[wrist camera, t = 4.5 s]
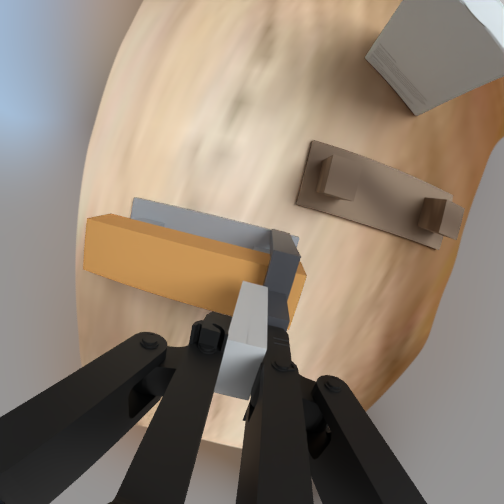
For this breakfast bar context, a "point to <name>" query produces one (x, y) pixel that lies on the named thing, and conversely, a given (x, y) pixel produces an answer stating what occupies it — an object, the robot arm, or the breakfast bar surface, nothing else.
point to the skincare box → (440, 49)
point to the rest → (377, 196)
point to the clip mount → (203, 225)
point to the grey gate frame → (280, 277)
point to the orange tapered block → (177, 263)
